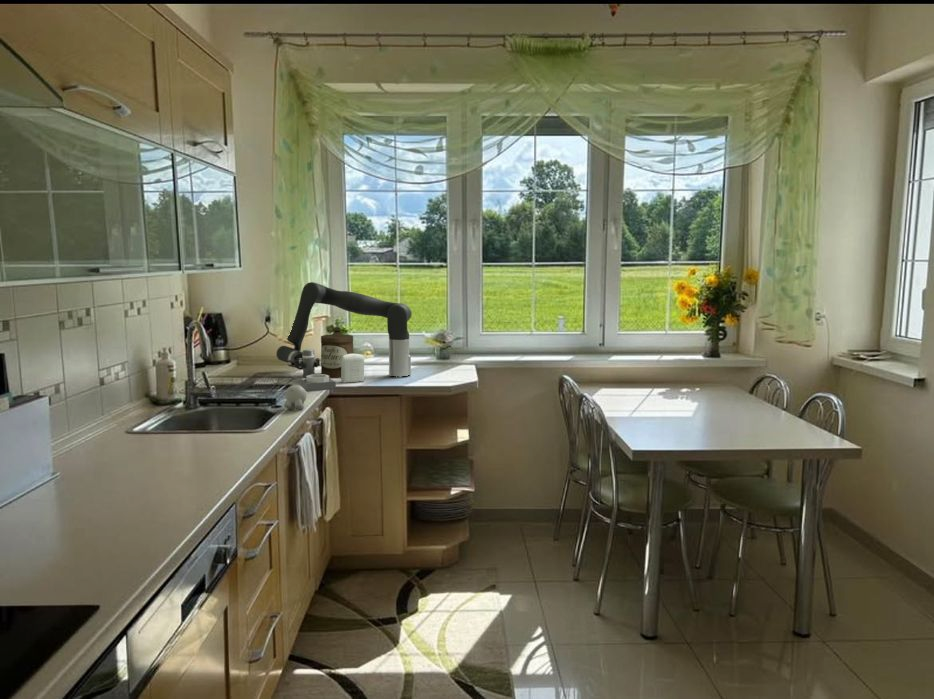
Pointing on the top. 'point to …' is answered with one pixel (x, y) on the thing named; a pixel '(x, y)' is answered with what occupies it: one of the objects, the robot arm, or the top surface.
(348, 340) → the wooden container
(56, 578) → the top surface
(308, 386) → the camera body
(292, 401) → the chubby cartoon animal
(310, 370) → the grey bottle
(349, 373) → the photo printer
